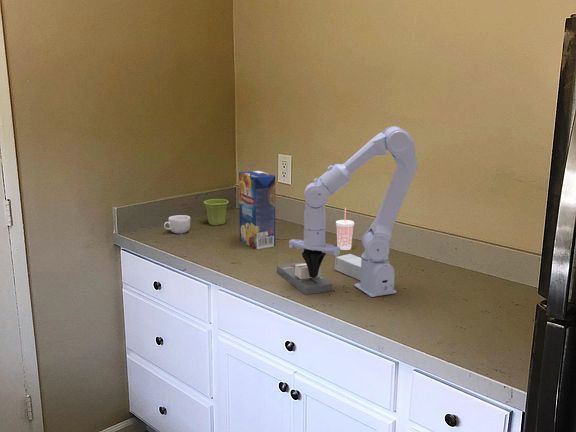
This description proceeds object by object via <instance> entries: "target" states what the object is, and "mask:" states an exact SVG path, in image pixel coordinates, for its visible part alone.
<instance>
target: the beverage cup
mask: <svg viewBox="0 0 576 432" xmlns="http://www.w3.org/2000/svg"><path fill="white" fill-rule="evenodd" d="M335 225H336V243H337V244H336V245H337V246H336V247H340V251H349V250H351V249H352V246H353V244H352V243H353V242H352V241H353V232H354V226H355V222H354V221H353V220H351V219H350V220H349V219H347V206H345V207H344V219H339V220H336V221H335Z"/></svg>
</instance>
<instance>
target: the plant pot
mask: <svg viewBox="0 0 576 432" xmlns="http://www.w3.org/2000/svg"><path fill="white" fill-rule="evenodd" d="M228 203H229V200H227V199H223V198H216V199H215V198H214V199H212V198H211V199H207V200H204V201H203V204H204V206H205V208H206V209H205V210H206V213H207V219H208V224H209V225H212V226H220V225H224V224H225V223H226V218H227V217H226V215H227V214H226V213H227V207H228Z"/></svg>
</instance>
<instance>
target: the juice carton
mask: <svg viewBox="0 0 576 432" xmlns="http://www.w3.org/2000/svg"><path fill="white" fill-rule="evenodd" d="M238 192H239V193H238V194H239V195H238V200H239V205H238V206H239V207H238V208H239V209H238V210H239V241H240V242H242V243H243V244H245V245H247V246H249V247H250V248H252V249H254V250H260V249H267V248H271V247H276V175H274V174H271V173H268V172H264V171H261V170H250V171H239V172H238Z"/></svg>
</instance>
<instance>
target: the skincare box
mask: <svg viewBox="0 0 576 432" xmlns="http://www.w3.org/2000/svg"><path fill="white" fill-rule="evenodd" d="M334 260H335V261H334V270H335V271H337V272H339V273H341V274H344V275H347V276H349V277H350V278H353V279H356V280H358V281H360V282H361V257H360V256H357V255H354V254H352V253H348V254H343V255H340V256H339V255H338V256H335V257H334Z"/></svg>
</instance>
